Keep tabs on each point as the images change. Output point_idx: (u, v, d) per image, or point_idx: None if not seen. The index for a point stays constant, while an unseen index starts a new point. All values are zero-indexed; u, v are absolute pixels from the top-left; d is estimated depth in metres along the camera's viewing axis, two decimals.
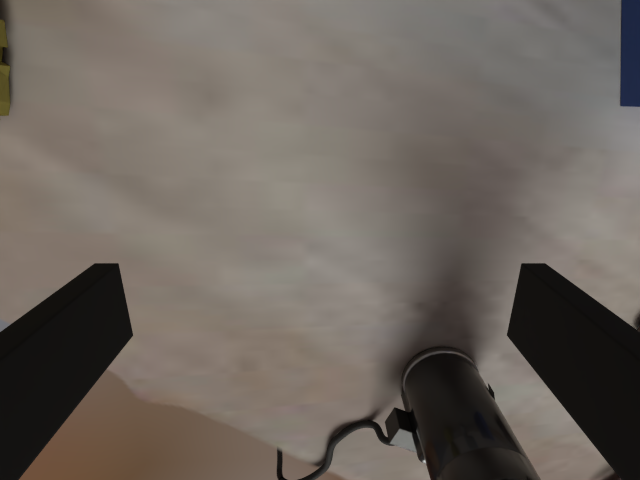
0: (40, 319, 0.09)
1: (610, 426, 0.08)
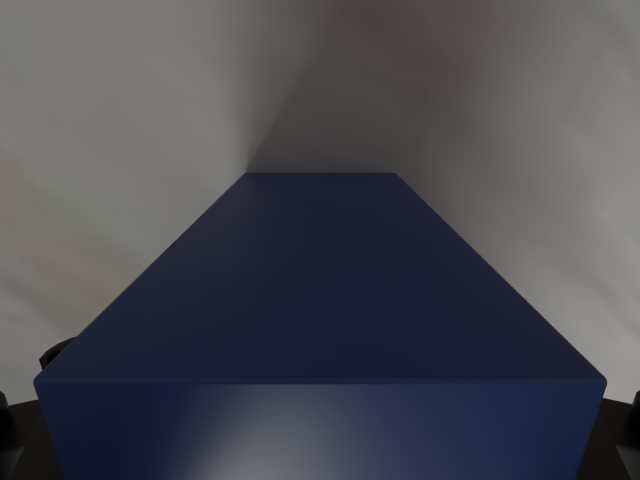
0: None
1: None
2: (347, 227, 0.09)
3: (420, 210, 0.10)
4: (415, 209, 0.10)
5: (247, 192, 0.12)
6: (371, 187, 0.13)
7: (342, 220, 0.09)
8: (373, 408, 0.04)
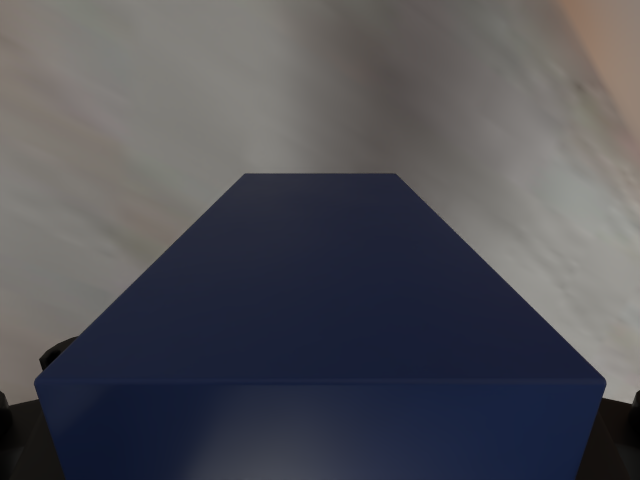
0: None
1: None
2: (347, 228, 0.09)
3: (420, 211, 0.10)
4: (415, 210, 0.10)
5: (247, 192, 0.12)
6: (371, 187, 0.13)
7: (342, 220, 0.09)
8: (373, 408, 0.04)
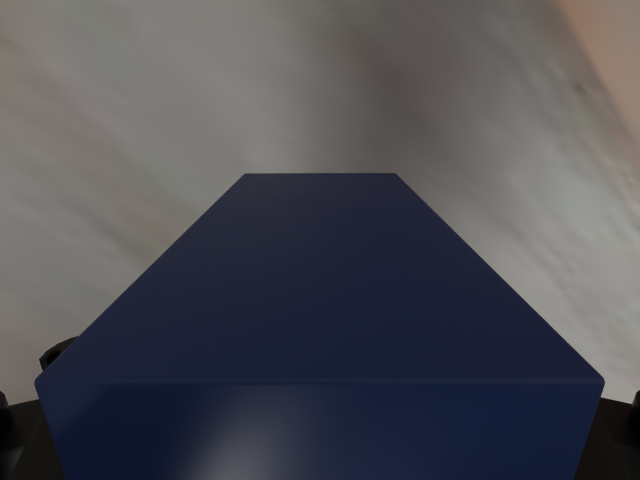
0: None
1: None
2: (346, 227, 0.09)
3: (419, 210, 0.10)
4: (415, 209, 0.10)
5: (247, 192, 0.12)
6: (371, 187, 0.13)
7: (341, 220, 0.09)
8: (372, 408, 0.04)
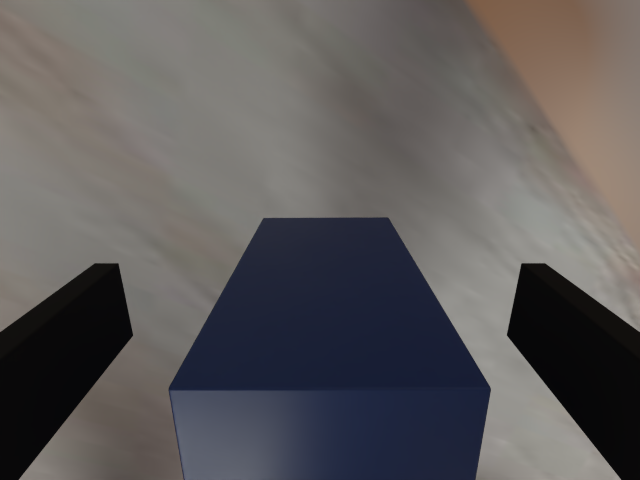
0: (40, 319, 0.09)
1: (610, 426, 0.08)
2: (346, 276, 0.12)
3: (402, 259, 0.13)
4: (399, 258, 0.13)
5: (268, 240, 0.15)
6: (367, 234, 0.16)
7: (342, 269, 0.13)
8: (359, 404, 0.07)
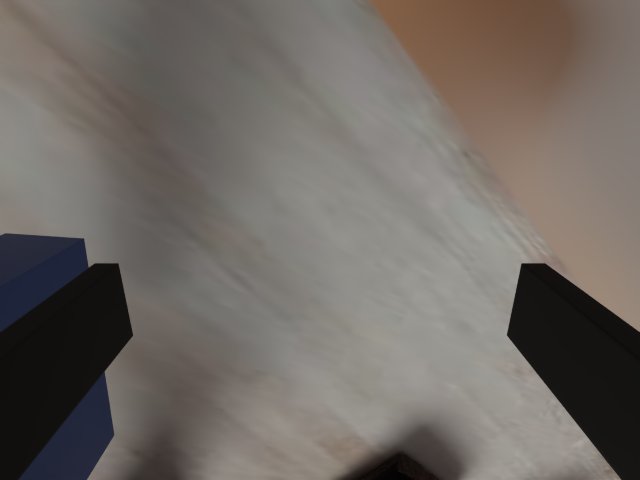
0: (40, 319, 0.09)
1: (610, 426, 0.08)
2: None
3: (28, 266, 0.25)
4: (28, 265, 0.25)
5: None
6: (43, 249, 0.28)
7: None
8: None
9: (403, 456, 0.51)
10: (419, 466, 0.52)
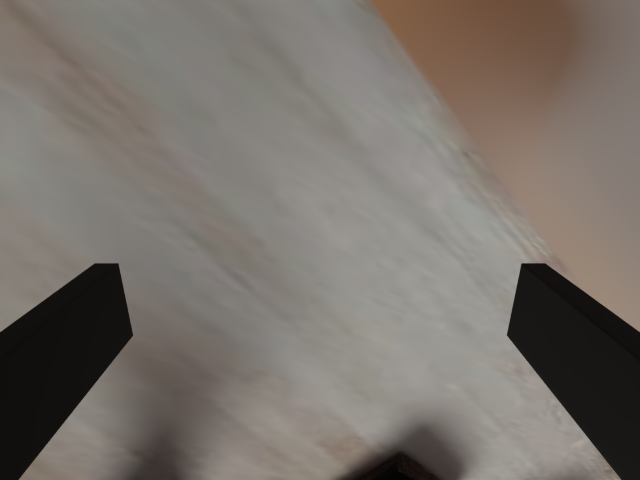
0: (40, 319, 0.09)
1: (610, 426, 0.08)
2: None
3: None
4: None
5: None
6: None
7: None
8: None
9: (403, 456, 0.51)
10: (419, 466, 0.52)
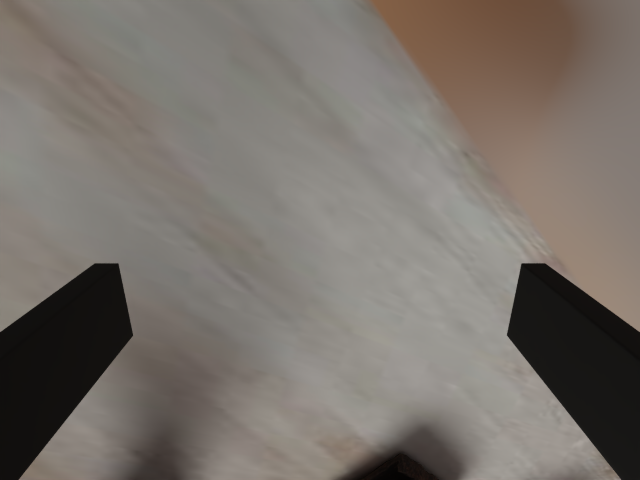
0: (40, 319, 0.09)
1: (610, 426, 0.08)
2: None
3: None
4: None
5: None
6: None
7: None
8: None
9: (403, 456, 0.51)
10: (419, 466, 0.52)
